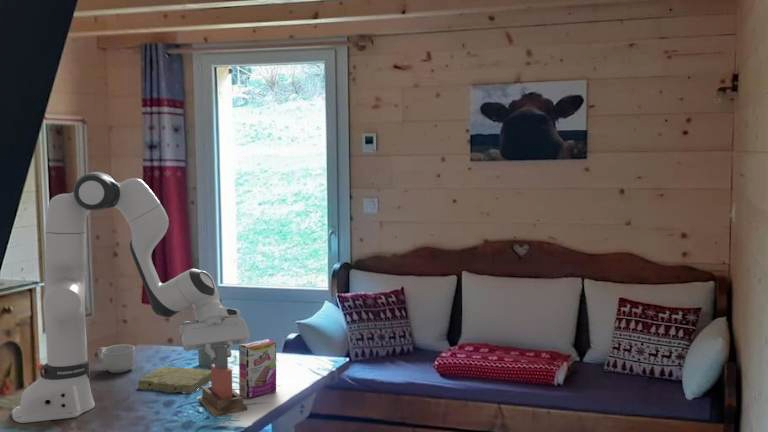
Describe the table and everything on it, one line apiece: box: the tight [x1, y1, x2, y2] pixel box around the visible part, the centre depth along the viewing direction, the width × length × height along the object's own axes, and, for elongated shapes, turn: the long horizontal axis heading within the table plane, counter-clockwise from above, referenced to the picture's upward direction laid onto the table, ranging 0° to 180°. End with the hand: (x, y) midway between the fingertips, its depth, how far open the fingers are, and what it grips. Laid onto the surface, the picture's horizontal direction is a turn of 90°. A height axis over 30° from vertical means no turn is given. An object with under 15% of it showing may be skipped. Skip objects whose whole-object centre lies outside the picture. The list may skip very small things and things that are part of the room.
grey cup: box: [197, 346, 221, 368], centre depth 273 cm, size 10×10×12 cm
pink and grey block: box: [210, 346, 233, 400], centre depth 229 cm, size 4×9×16 cm, turn 30°
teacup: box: [97, 343, 136, 374], centre depth 267 cm, size 14×11×8 cm
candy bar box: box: [238, 338, 277, 400], centre depth 239 cm, size 11×5×16 cm, turn 134°
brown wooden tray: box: [197, 385, 248, 417], centre depth 229 cm, size 10×16×4 cm, turn 30°
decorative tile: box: [137, 366, 211, 394], centre depth 252 cm, size 19×20×4 cm
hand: (221, 357), depth 228 cm, fingers open, 3 cm apart
